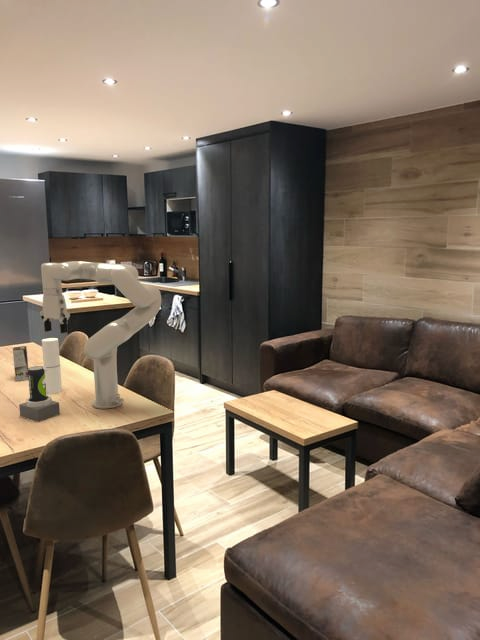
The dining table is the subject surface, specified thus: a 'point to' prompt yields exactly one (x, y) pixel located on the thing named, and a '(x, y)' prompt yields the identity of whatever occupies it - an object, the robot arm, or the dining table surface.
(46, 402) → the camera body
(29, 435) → the dining table surface
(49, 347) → the cylindrical container
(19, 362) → the coffee box
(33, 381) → the beverage can
